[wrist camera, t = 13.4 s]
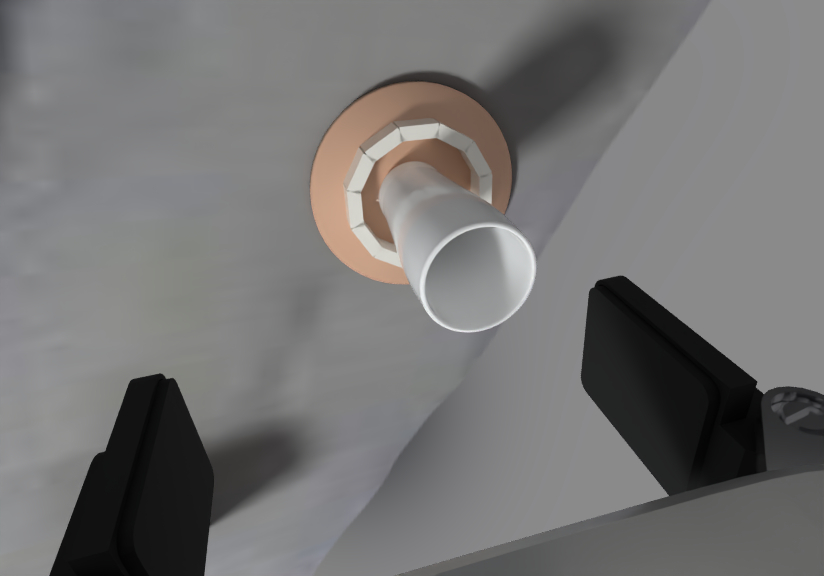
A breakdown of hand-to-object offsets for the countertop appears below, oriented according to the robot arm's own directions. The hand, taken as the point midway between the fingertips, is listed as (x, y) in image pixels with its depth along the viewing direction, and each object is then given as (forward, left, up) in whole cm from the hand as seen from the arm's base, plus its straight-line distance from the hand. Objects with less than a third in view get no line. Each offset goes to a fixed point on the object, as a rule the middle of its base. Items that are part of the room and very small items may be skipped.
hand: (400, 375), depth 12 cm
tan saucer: (+6, +7, -30) cm, 31 cm away
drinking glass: (+6, +7, -29) cm, 30 cm away
